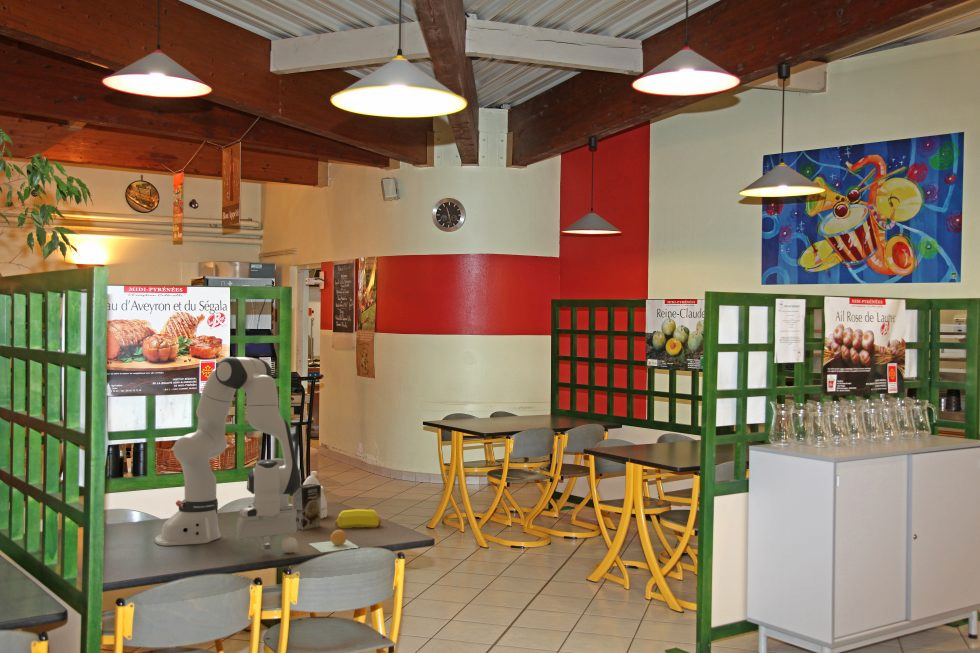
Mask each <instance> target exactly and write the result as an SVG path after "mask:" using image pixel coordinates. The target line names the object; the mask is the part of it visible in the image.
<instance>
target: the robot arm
mask: <svg viewBox="0 0 980 653" xmlns="http://www.w3.org/2000/svg"><path fill="white" fill-rule="evenodd" d="M240 389H242V390H243V391H244V393H245V395H246V396H245V397H246V400H245V406H246V407H245V408H246V409H245V410H246V419H247V420H246V421H247V422H248V424H249V425H250V427H252V428H253V429H254V430H256V431H258V432H261V433H264V434H266V435H270V436H272V437H274V438H276V439H277V440H278V442H279V444H280V447H281V448H280V449H281V451H282V452H281V453H282V456H283V458H282V459H284V465H283V466H279V464H278V462H276V461H274V460H269V459H260V460H258V461H257V462H256V463H255V466H254V467H253V468H251V469H250V470H249V471H248V472H247V474H246V479H247V480H246V481H247V482H246V490H247V491H248V492H249V493H251V495H254V497H253V503H251V504H248V505H245V506H243V507H240V508H239V516H238V517H237V520H236V526H235V536H236V537H237V539H239V540H247V539H255V538H258V541H259V542H260V544H261V550H262V551H265V550H272V544H273V543H274V541H275V540H276V536H282V535H283V536H285V535H294V534H295V533H296V532H297V530H298V529H297V524H296V516H297V510H296V509H295V508H294V507H293V505H292V506H290V505H289V507H280V495H279V494H289V495H293V493H295V492H296V491H297V490H298V489H299V488H300V485H302V477H301V472H300V470H299V466H298V463H297V456H296V451H295V446H294V442H293V437H292V433H291V432H292V431H291V429H290V425H289V422H288V421H287V420H286V419H284V418H283V417H282V415H281V413H280V411H279V395H278V387H277V383H276V380H275V379H274V378H273V377H272V368H271V366H270V364H269V363H268V362H267V361H265V360H263V359H262V358H261V359H260V358H254V357H248V356H242V357H241V356H239V357H238V356H235V357H234V356H227V357H224V358H222V359H220V360H219V361H218V363H217V365H216V367H215V368H213V369H212V370H211V372H210V373H209V376H208V377H207V380H206V382H205V384H204V385H203V389H202V392H201V395H200V398H199V402H198V404H197V407H196V411H195V413H196V417H197V428H196V431H194V432H190V433H185V434H184V435H182V436H181V437H179V438H178V439H177V440H175V442H174V444H173V447H172V448H173V449H172V450H173V454H174V455H173V456H174V457H175V459H176V460H177V461H178V462H179V463H180V467H181V469H182V473H183V479H184V499H183V500H179V499H177V500H176V501H175V505H176V506H177V507H178V511H177V512H176V513H175V514H173V515H171V517H169V518H168V519H167V520H165V522H164V523H163V525H162V530H161V534H159V535H157V536H155V539H154V542H155V543H156V544H157V545H159V546H163V547H164V546H167V547H169V546H181V545H183V546H184V545H197V544H200V545H201V544H208V543H210V542H212V541H215V540H218V539H221V533H220V532H221V531H220V529H219V525H218V510H219V502H218V498H217V476H216V474H214V473H213V470H212V467H211V463H210V462H211V461H210V460H213V459H215V458H217V457H220V455H221V454H223V453H224V452H225V451H226V450H227V447H228V439H227V437H226V424H227V420H228V419H227V418H228V415H229V412H230V409H231V407H232V404H233V400H234V396H235V393H236V391H237V390H240ZM265 537H268V538H269V541H268V542H267V543H264V540H265Z"/></svg>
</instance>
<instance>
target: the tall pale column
mask: <svg viewBox="0 0 980 653" xmlns="http://www.w3.org/2000/svg"><path fill="white" fill-rule="evenodd" d="M268 460H274V461H276V462H278V464H279V466H283V465H284V458H279V457H278V458H277V457H276V458H275V457H274V458H272V459H268ZM279 495H280V507H289V506H290V494H279Z"/></svg>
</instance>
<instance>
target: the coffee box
mask: <svg viewBox="0 0 980 653" xmlns="http://www.w3.org/2000/svg"><path fill="white" fill-rule="evenodd" d="M321 486H322V485H321V484H320V485H316V484H306V485H303V484H301V485H300V488H299V489H298V490H297V491H296V492H295V493H293V494H292V507H294V508H295V509H296V510H297V516H296V524H297V530H300V529H301V531H305V530H309V529H314V527H315V528H319V527H321V519H320V515H321ZM318 526H319V527H318Z"/></svg>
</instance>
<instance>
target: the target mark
mask: <svg viewBox="0 0 980 653" xmlns="http://www.w3.org/2000/svg"><path fill="white" fill-rule="evenodd" d="M308 545H309V546H310V547H312V548H313V549H315V550H317V551H318V552H319V553H322V554H323V553H332V552H338V551H339V552H340V550H341V551H346V550H345V549H349V550H351V549H350V548H357V549H359V548H358V547H359V546H358V545H356V544H355V543H353V542H351V541H350V540H348V539H346V541H345V543H344V544H342V545H340V546H337V545H334V544H333V543H332V541H331V540H329V541H321V542H320V541H319V542H311V543H308Z"/></svg>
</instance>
